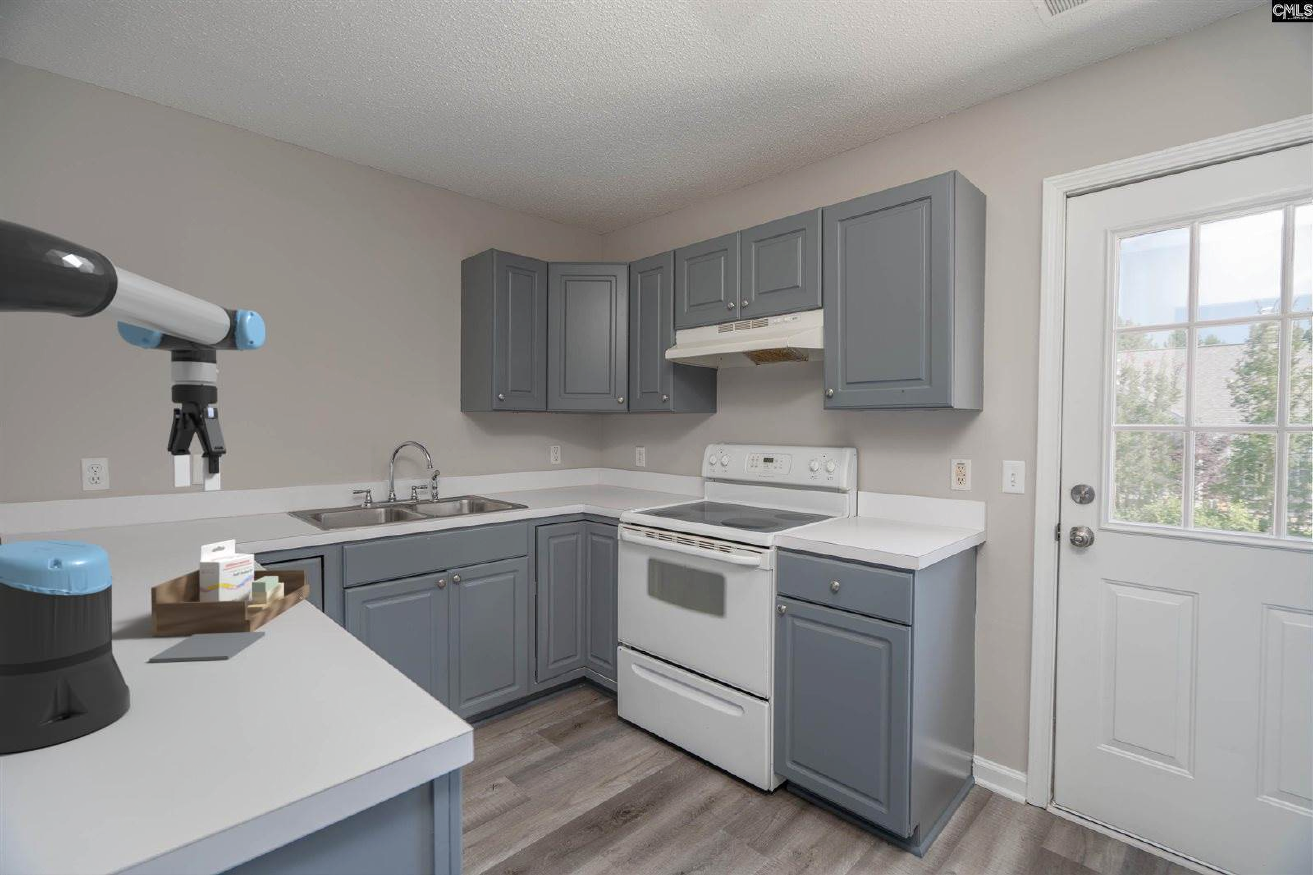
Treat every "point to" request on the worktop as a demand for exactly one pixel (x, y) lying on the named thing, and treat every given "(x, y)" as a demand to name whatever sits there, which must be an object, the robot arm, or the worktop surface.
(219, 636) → the mat
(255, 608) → the offcut bottom
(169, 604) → the rack
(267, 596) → the block
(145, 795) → the worktop surface
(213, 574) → the ink box
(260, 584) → the offcut top
